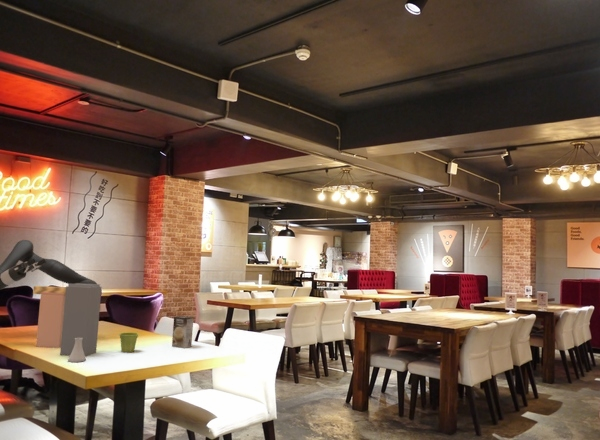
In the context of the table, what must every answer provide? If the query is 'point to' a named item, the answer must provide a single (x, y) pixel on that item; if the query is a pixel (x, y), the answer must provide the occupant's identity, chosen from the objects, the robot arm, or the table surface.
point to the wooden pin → (48, 289)
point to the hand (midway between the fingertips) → (40, 260)
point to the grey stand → (81, 317)
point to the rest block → (50, 320)
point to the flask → (77, 352)
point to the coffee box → (182, 331)
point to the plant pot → (128, 341)
